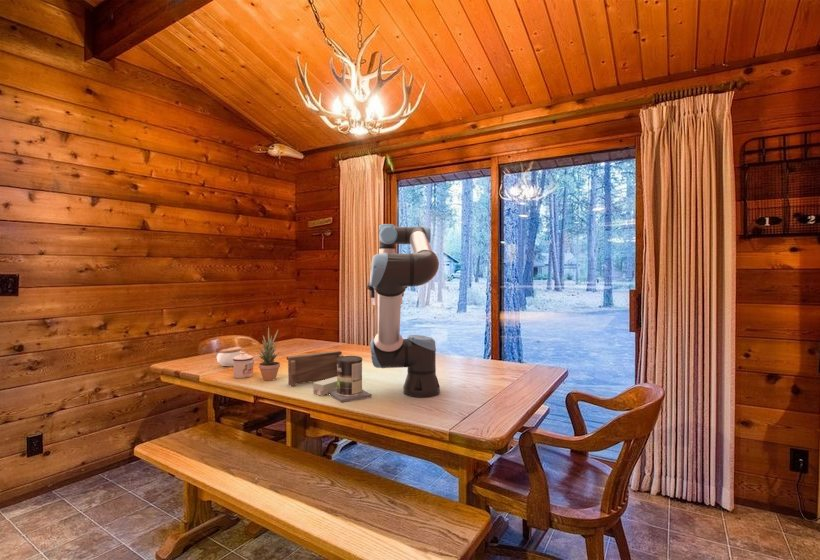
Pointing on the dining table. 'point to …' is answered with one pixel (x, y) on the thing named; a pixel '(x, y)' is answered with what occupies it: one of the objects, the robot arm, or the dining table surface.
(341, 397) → the slate mat
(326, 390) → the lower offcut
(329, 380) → the upper offcut
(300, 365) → the walnut rack
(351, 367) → the coffee can
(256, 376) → the dining table surface
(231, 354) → the lidded bowl
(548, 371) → the dining table surface
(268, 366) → the potted plant
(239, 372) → the teacup with lid
